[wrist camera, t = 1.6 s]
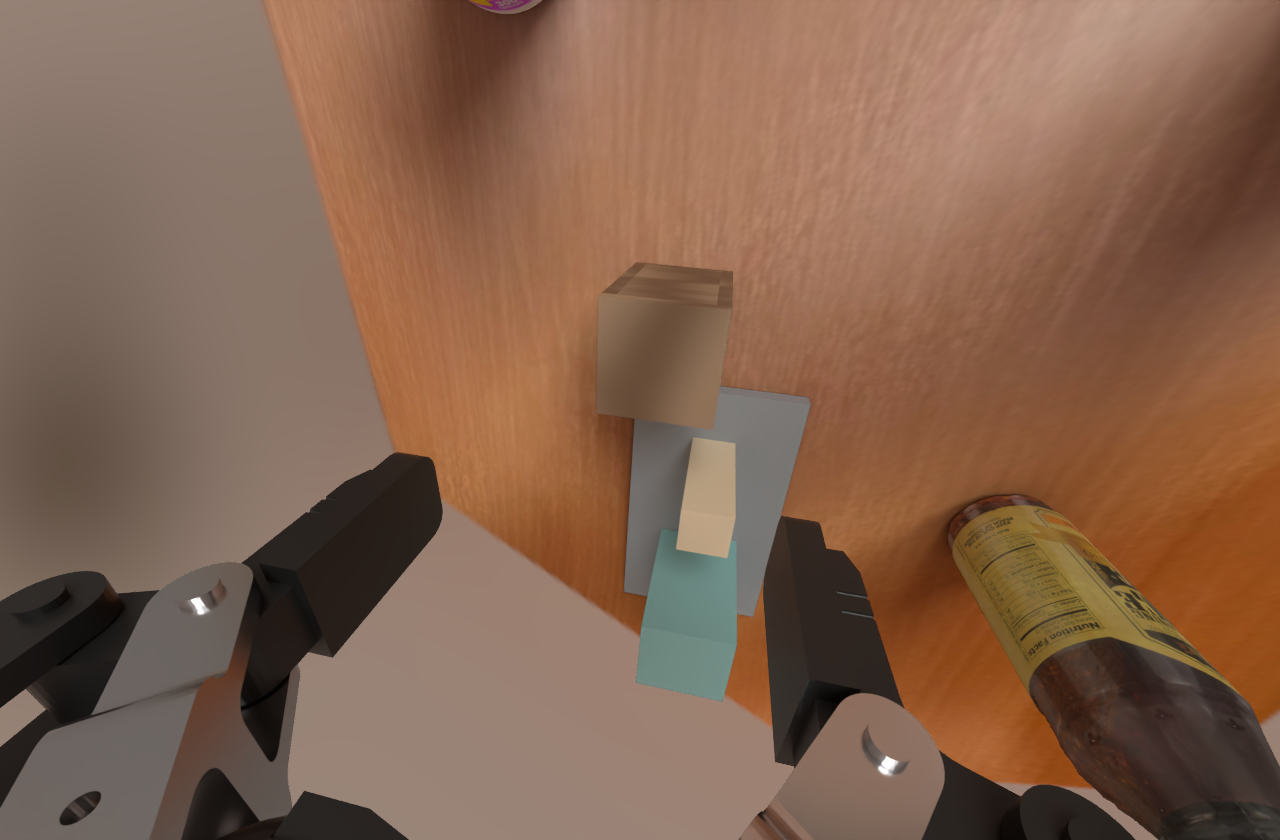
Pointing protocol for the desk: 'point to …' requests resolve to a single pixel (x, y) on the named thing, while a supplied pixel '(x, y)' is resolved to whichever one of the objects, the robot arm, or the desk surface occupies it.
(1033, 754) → the desk surface
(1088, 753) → the sauce bottle
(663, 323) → the tall brown pillar
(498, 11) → the supplement bottle
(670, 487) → the stand
